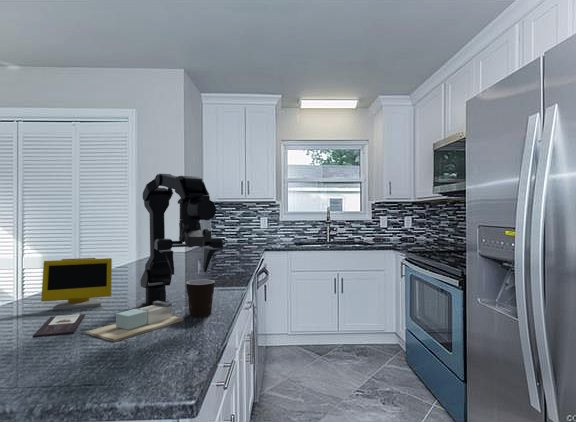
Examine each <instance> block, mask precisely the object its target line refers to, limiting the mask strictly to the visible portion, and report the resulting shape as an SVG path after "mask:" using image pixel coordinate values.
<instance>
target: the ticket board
mask: <svg viewBox="0 0 576 422" xmlns="http://www.w3.org/2000/svg"><path fill="white" fill-rule="evenodd" d="M172 306H173V305H172V302H169V303H167V302H162V301H155V302H153V305H151V306H147V305H146V306H144V307H140V308H138V309H139V310H144V311H147V324H146V325H142V326H139V327H136V328H132V329H129V330H127V329H123V328H119V327H116V322H115V323H112V324H108V325H104V326H101V327H97V328H93V329H90V330H86V331H85V334H86V335H89V336H93V337H96V338H99V339H103V340H106V341H110V342H113V343H116V342H120V341H124V340H126V339H129V338H132V337H136V336H138V335H142V334H145V333H148V332H151V331H154V330H158V329H160V328H163V327H167V326H171V325H173V324H176V323H180V322H183V321H185V320H184V319H185V318H184V317H180V316H175V315H172Z"/></svg>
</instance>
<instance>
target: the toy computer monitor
mask: <svg viewBox="0 0 576 422" xmlns="http://www.w3.org/2000/svg"><path fill="white" fill-rule="evenodd" d="M112 266H113V259H112V257H110V258H109V257H107V258H96V257H87V258H85V257H84V258H83V257H82V258H81V257H79V258H78V257H77V258H62V259H60V260H56V259H55V260H44V261H43V268H42V269H43V270H42V283H41V284H42V285H41V286H42V287H41V299H40V301H41V302H57V301H61V302H59V303H57V304H55V305H54V306H53V307H52V310H53V311H59V310H60V311H61V310H62V311H63V310H72V309H73V310H74V309H83V308H96V307H102V303H101V301H100V300H98V299H97V298H105V297H106V298H108V297H112V286H113V285H112V281H113V279H112V278H113V277H112V275H113V272H112V270H113V269H112V268H113V267H112Z"/></svg>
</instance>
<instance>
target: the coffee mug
mask: <svg viewBox="0 0 576 422" xmlns="http://www.w3.org/2000/svg"><path fill="white" fill-rule="evenodd" d="M185 283H186V284H185V286H186V293H187V302H188V303H187V304H188V312H189V316H190V317H192V318H206V317H210V316H211V315H212V309H213V300H214V291H215V283H216V281H215V280H214V279H213V280H212V279H193V280H191V279H190V280H188V281H186V282H185Z"/></svg>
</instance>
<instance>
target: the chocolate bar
mask: <svg viewBox="0 0 576 422" xmlns="http://www.w3.org/2000/svg"><path fill="white" fill-rule="evenodd" d="M85 317H86V313H85V314H84V313H82V314H71V315H70V314H69V315H57V316H50V317H49V318H48V319H47V320H46V321H45V322H44V324H43V323H42V325H41V327H39V328H38V330H36V332H35V333H33V334H32V338H42V337H45V338H46V337H53V336H54V337H55V336H64V335H66V336H67V335H74V334H75V333H76V331H77V329H78V328H79V326H80V325H81V323H82V321H83V320H84V319H85Z"/></svg>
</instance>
